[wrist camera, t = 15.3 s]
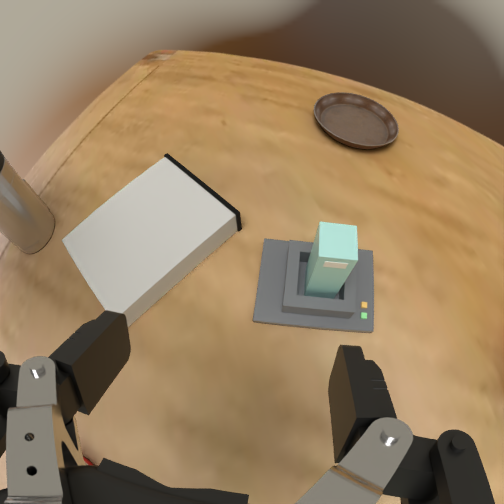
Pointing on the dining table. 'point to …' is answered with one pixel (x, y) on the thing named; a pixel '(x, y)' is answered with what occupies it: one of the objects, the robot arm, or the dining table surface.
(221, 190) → the dining table surface
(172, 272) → the disc drive
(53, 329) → the dining table surface
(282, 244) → the port block
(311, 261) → the plug
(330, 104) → the plant saucer
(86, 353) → the robot arm
